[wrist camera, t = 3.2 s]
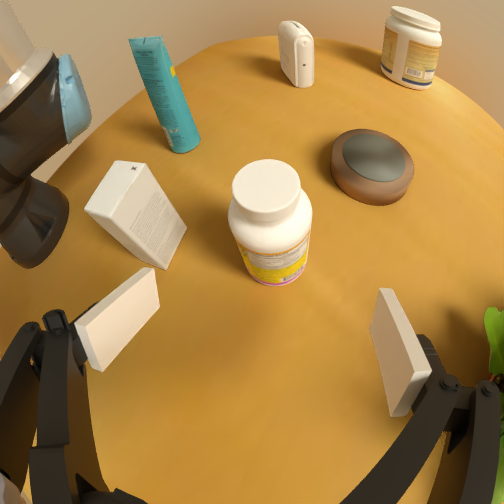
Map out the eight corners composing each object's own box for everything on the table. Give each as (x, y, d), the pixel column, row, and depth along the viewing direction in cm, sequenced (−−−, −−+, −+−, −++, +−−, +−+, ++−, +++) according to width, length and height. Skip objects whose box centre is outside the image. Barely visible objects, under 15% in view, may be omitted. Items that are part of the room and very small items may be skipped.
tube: (212, 138, 39) (177, 27, 22) (193, 159, 38) (146, 44, 21) (178, 129, 42) (138, 32, 24) (159, 148, 40) (111, 49, 23)
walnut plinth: (314, 158, 35) (315, 141, 32) (373, 136, 36) (377, 120, 33) (363, 219, 30) (370, 203, 27) (421, 187, 31) (430, 172, 28)
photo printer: (316, 87, 43) (317, 29, 32) (295, 89, 43) (291, 31, 32) (297, 65, 47) (295, 15, 36) (278, 68, 48) (273, 17, 36)
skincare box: (161, 220, 34) (116, 157, 23) (188, 228, 33) (147, 161, 22) (139, 262, 32) (81, 209, 21) (166, 272, 31) (110, 218, 20)
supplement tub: (436, 84, 43) (451, 25, 27) (420, 98, 40) (437, 28, 25) (392, 61, 47) (399, 3, 32) (370, 72, 45) (377, 4, 30)
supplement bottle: (252, 227, 32) (232, 145, 20) (310, 236, 30) (319, 153, 19) (238, 282, 29) (204, 217, 18) (300, 293, 28) (309, 232, 16)
